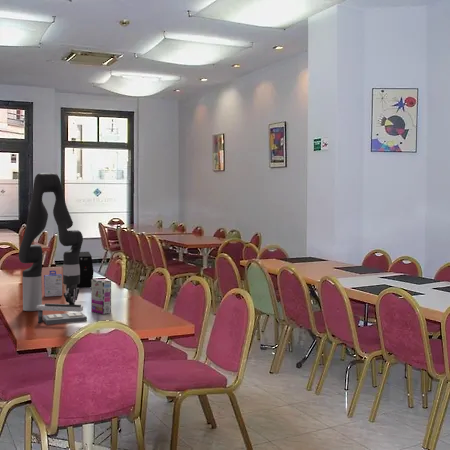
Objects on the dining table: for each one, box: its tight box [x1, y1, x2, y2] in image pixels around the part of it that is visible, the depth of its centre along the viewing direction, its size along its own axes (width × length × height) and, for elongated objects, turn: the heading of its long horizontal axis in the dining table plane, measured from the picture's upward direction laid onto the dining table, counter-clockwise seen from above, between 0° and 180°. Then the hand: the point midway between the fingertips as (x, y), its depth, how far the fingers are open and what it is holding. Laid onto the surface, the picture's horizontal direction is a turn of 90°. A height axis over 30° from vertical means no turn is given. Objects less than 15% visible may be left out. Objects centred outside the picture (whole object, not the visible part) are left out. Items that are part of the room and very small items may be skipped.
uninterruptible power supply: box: [77, 251, 95, 289], centre depth 389 cm, size 16×34×20 cm, turn 16°
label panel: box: [43, 311, 88, 326], centre depth 278 cm, size 12×18×3 cm, turn 116°
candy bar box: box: [90, 278, 112, 315], centre depth 297 cm, size 11×5×16 cm, turn 45°
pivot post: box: [37, 310, 44, 324], centre depth 274 cm, size 2×2×6 cm
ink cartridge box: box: [43, 270, 63, 297], centre depth 346 cm, size 10×6×14 cm, turn 114°
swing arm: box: [37, 302, 84, 313], centre depth 272 cm, size 22×3×3 cm, turn 81°
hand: (71, 310), depth 275 cm, fingers closed
